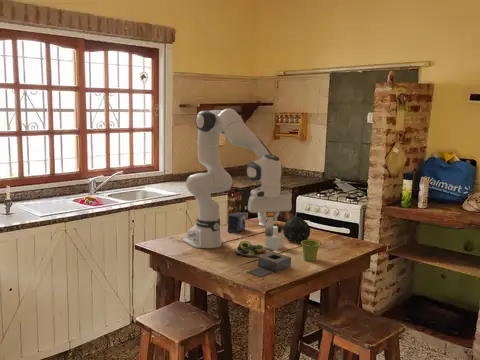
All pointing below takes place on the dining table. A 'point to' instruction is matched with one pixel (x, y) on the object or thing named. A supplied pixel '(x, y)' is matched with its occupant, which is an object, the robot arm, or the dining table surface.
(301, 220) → the squash
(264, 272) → the mat
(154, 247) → the dining table surface
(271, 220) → the cylindrical container
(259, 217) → the jar
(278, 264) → the grey square block
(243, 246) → the salad plate
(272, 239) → the medicine bottle
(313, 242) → the plant pot
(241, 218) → the small box
